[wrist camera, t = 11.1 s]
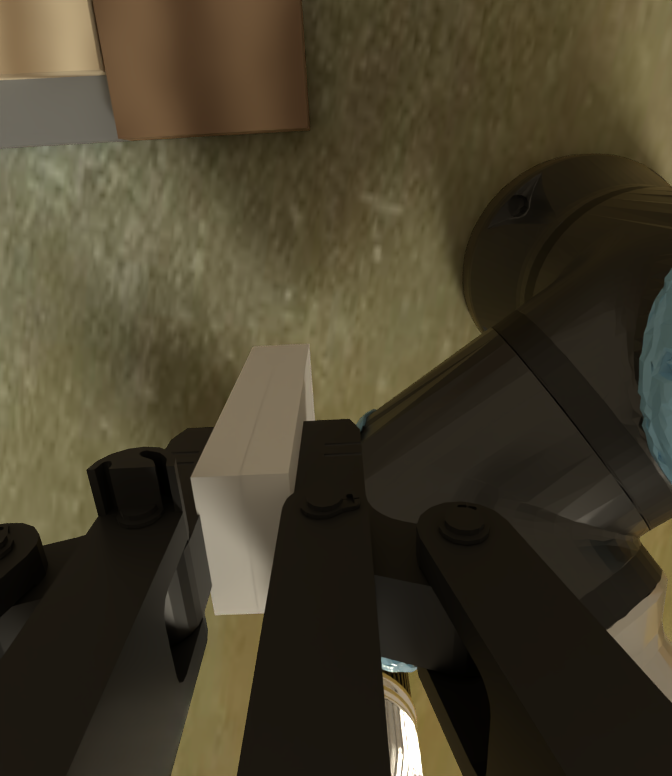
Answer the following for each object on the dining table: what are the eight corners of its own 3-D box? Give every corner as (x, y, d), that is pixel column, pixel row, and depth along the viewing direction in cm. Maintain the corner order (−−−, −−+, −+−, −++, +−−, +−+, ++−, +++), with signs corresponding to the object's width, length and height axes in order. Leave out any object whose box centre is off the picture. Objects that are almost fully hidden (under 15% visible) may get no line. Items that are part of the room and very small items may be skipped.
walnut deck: (292, -141, 31) (289, -166, 29) (310, 130, 36) (308, 127, 34) (84, -127, 31) (64, -150, 29) (132, 140, 36) (118, 138, 34)
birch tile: (92, -41, 32) (77, -54, 30) (112, 74, 34) (99, 69, 33) (-41, -34, 32) (-64, -46, 30) (-13, 80, 35) (-32, 75, 33)
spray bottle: (258, 555, 49) (189, 898, 26) (348, 496, 47) (359, 816, 24) (328, 623, 52) (321, 985, 29) (416, 571, 50) (484, 920, 27)
